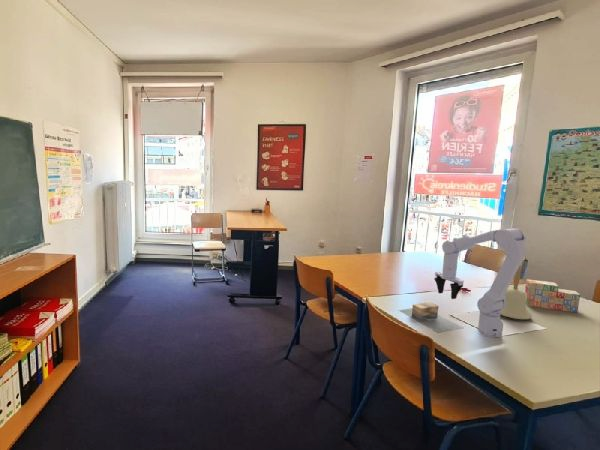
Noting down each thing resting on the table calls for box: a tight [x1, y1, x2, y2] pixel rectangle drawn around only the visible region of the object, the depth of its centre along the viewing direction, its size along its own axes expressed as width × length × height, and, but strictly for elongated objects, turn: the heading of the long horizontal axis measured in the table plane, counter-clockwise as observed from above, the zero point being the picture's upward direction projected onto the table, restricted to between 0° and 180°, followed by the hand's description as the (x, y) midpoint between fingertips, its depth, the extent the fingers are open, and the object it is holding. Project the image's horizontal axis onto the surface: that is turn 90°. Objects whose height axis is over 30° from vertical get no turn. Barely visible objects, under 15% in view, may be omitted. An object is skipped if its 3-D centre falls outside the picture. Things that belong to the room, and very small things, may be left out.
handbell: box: [500, 264, 533, 320], centre depth 158 cm, size 15×15×25 cm
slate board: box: [398, 307, 464, 334], centre depth 150 cm, size 24×14×1 cm, turn 23°
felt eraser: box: [412, 301, 439, 320], centre depth 153 cm, size 10×5×5 cm, turn 113°
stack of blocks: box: [524, 278, 581, 314], centre depth 173 cm, size 21×6×12 cm, turn 67°
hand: (446, 295), depth 156 cm, fingers open, 7 cm apart
